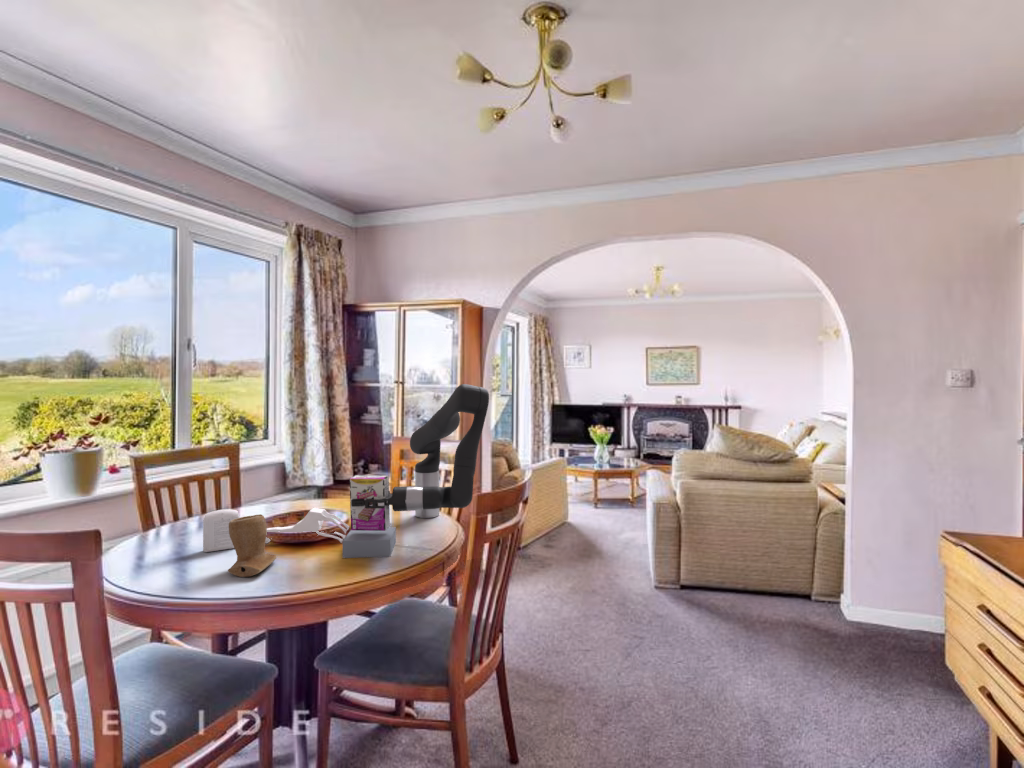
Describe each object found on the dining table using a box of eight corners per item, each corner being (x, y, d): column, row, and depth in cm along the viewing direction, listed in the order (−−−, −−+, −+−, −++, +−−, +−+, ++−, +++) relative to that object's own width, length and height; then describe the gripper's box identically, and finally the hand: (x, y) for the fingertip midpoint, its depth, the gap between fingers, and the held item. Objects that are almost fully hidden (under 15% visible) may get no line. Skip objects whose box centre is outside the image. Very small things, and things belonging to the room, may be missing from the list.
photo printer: (239, 544, 177) (238, 506, 177) (240, 547, 173) (240, 509, 173) (202, 550, 171) (202, 510, 171) (203, 553, 168) (203, 513, 167)
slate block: (352, 543, 177) (351, 528, 177) (395, 542, 178) (395, 527, 178) (342, 558, 163) (342, 541, 163) (390, 556, 164) (390, 539, 164)
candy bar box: (350, 531, 168) (348, 478, 167) (356, 526, 173) (354, 475, 172) (385, 531, 167) (384, 478, 167) (390, 526, 172) (389, 474, 172)
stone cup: (240, 560, 161) (239, 510, 161) (281, 560, 162) (281, 509, 161) (214, 580, 146) (214, 524, 146) (260, 579, 146) (259, 523, 146)
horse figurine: (333, 564, 183) (262, 538, 181) (352, 519, 183) (281, 492, 181) (330, 570, 178) (256, 543, 176) (349, 523, 178) (275, 495, 176)
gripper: (410, 482, 178) (357, 484, 177) (406, 491, 164) (348, 493, 163) (410, 505, 178) (358, 507, 177) (406, 516, 164) (349, 518, 163)
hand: (353, 500), depth 170 cm, fingers closed on candy bar box, 5 cm apart
